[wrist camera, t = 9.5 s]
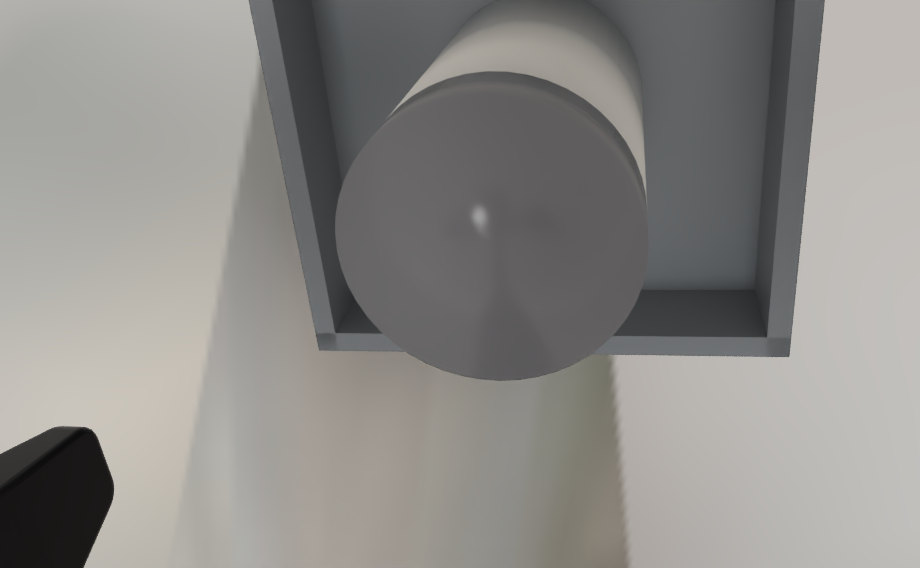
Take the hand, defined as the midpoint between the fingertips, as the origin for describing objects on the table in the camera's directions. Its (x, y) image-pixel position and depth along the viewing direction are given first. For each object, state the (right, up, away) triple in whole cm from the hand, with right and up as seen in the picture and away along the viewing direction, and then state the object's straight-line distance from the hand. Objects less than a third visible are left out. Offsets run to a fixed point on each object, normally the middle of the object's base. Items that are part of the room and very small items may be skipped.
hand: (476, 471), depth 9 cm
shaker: (+2, +6, +10) cm, 12 cm away
